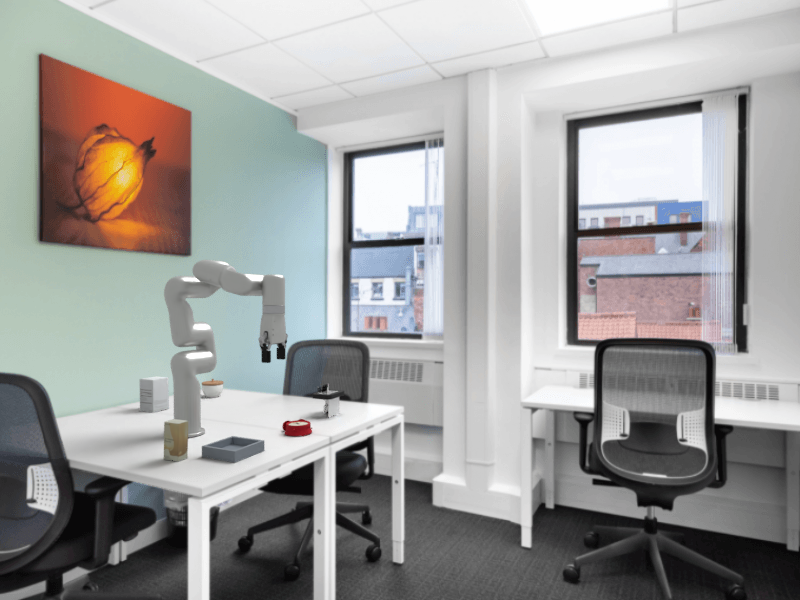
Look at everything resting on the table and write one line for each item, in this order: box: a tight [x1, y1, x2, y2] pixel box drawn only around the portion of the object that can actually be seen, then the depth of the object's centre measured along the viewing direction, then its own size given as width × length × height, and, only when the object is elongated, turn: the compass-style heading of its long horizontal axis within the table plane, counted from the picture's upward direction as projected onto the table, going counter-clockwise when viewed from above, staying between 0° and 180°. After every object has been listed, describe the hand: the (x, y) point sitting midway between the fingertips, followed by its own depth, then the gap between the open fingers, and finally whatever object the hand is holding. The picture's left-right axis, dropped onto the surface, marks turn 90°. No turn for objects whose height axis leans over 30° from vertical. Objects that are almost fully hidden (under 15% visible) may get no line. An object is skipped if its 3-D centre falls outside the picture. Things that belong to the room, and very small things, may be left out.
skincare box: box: [163, 418, 189, 462], centre depth 169 cm, size 6×4×12 cm
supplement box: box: [139, 375, 170, 413], centre depth 243 cm, size 9×9×15 cm
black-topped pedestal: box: [312, 383, 345, 418], centre depth 232 cm, size 28×26×13 cm
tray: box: [201, 435, 265, 463], centre depth 175 cm, size 14×14×4 cm
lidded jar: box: [201, 378, 224, 399], centre depth 276 cm, size 11×11×9 cm
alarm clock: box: [281, 418, 313, 437], centre depth 203 cm, size 10×6×15 cm
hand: (273, 360), depth 180 cm, fingers open, 9 cm apart
